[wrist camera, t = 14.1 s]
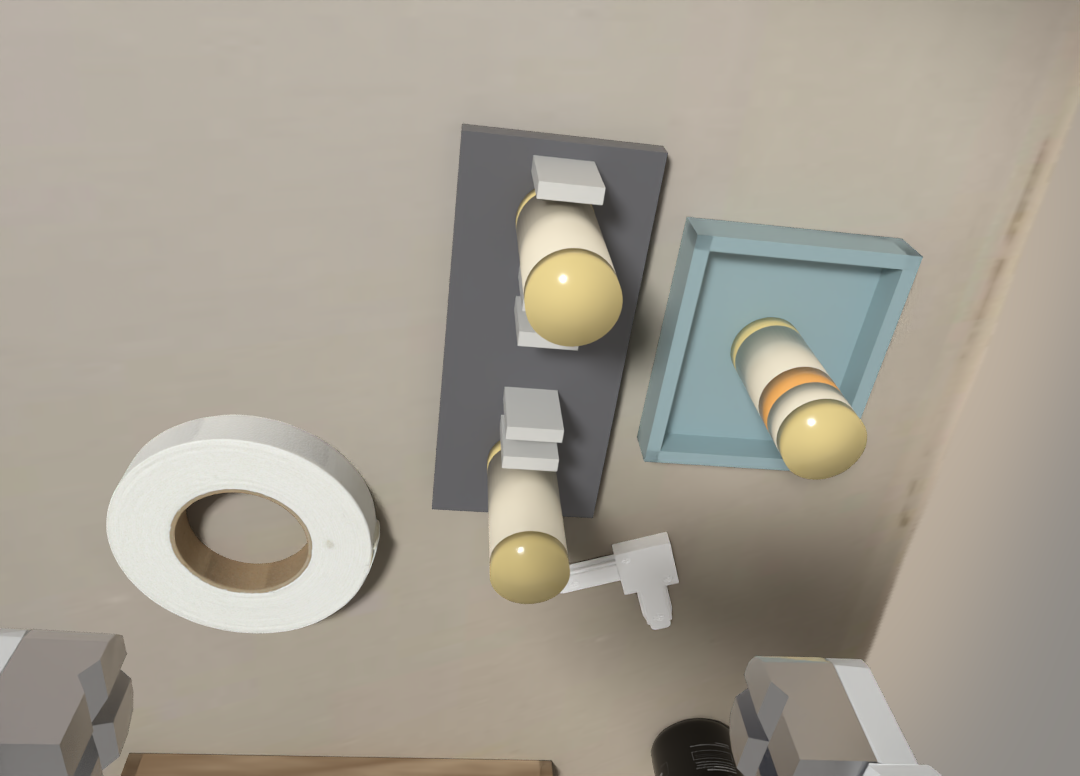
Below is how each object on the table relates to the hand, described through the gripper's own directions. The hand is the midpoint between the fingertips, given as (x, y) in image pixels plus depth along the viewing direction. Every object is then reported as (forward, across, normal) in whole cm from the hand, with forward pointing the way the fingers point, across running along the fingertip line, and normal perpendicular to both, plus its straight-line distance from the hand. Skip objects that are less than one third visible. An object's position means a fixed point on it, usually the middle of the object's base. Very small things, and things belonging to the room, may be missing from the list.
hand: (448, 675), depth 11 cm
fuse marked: (+34, -18, +12) cm, 40 cm away
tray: (+34, -18, +12) cm, 40 cm away
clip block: (+34, -5, +13) cm, 37 cm away
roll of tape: (+35, +11, +27) cm, 45 cm away
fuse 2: (+33, -5, +20) cm, 39 cm away
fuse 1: (+33, -5, +5) cm, 34 cm away
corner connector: (+35, -13, +31) cm, 49 cm away
